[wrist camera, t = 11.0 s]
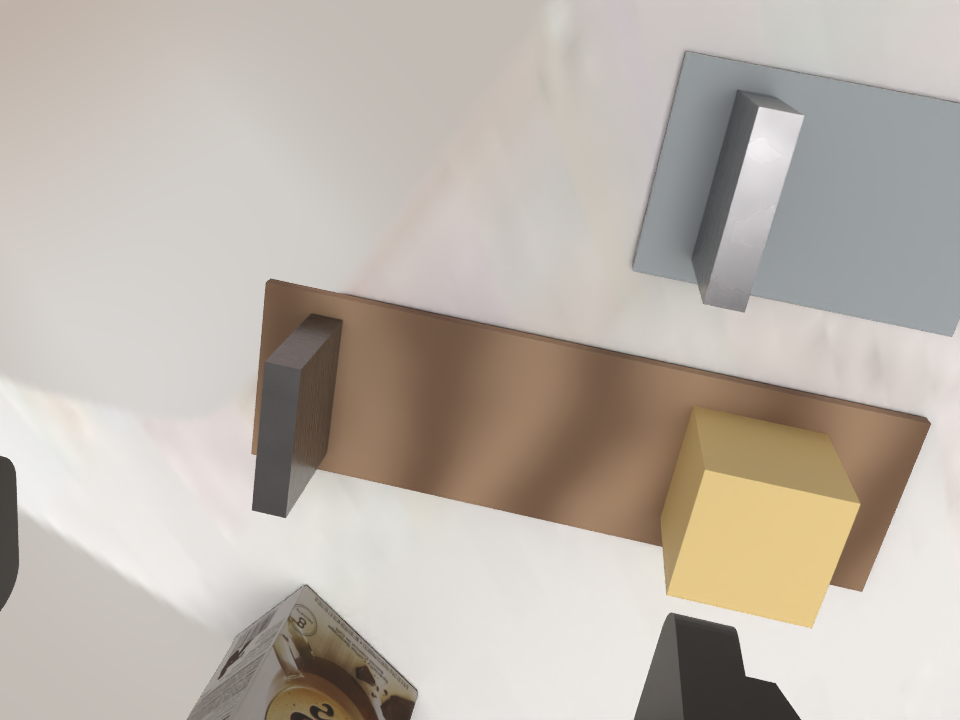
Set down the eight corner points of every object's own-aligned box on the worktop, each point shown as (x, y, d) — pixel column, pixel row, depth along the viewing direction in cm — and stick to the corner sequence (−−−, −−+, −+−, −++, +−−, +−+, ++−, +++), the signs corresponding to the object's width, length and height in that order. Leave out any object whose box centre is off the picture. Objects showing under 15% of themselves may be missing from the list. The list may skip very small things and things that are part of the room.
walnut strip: (255, 448, 46) (200, 518, 40) (270, 278, 42) (211, 326, 36) (859, 584, 44) (897, 679, 38) (926, 418, 40) (981, 493, 34)
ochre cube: (693, 405, 41) (705, 469, 35) (827, 434, 40) (860, 503, 35) (660, 518, 43) (666, 595, 38) (787, 546, 43) (812, 628, 37)
